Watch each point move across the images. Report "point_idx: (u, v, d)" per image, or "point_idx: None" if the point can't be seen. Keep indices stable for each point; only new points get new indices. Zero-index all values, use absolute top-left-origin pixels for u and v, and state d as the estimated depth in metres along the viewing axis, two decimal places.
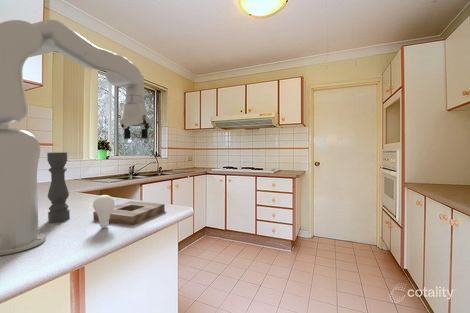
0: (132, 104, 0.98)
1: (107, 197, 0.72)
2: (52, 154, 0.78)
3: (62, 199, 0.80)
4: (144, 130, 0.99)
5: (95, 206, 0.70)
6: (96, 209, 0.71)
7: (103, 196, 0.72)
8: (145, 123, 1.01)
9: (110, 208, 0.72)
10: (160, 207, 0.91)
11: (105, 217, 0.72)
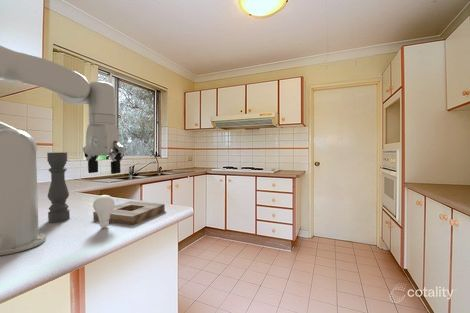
0: (97, 126, 0.70)
1: (107, 197, 0.72)
2: (52, 154, 0.78)
3: (62, 199, 0.80)
4: (115, 162, 0.70)
5: (95, 206, 0.70)
6: (96, 209, 0.71)
7: (103, 196, 0.72)
8: (117, 152, 0.73)
9: (110, 208, 0.72)
10: (160, 207, 0.91)
11: (105, 217, 0.72)
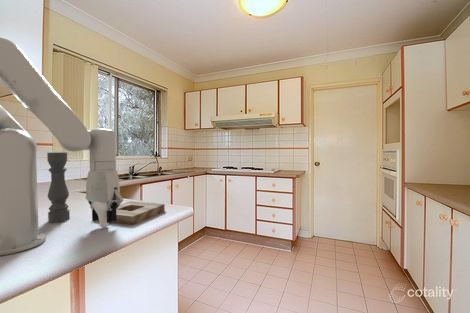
0: (98, 174, 0.70)
1: None
2: (52, 154, 0.78)
3: (62, 199, 0.80)
4: (111, 212, 0.71)
5: (95, 206, 0.70)
6: (96, 209, 0.71)
7: None
8: (115, 199, 0.73)
9: None
10: (160, 207, 0.91)
11: (105, 217, 0.72)
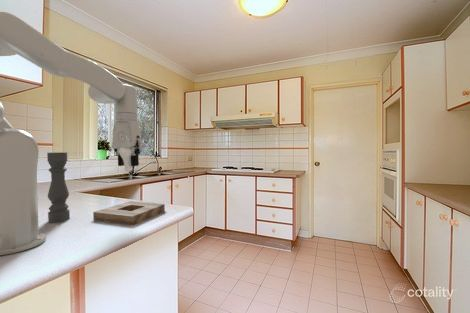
0: (123, 123, 0.82)
1: None
2: (52, 154, 0.78)
3: (62, 199, 0.80)
4: (134, 156, 0.83)
5: (121, 151, 0.82)
6: (122, 154, 0.82)
7: None
8: (137, 147, 0.85)
9: None
10: (160, 207, 0.91)
11: (129, 162, 0.84)
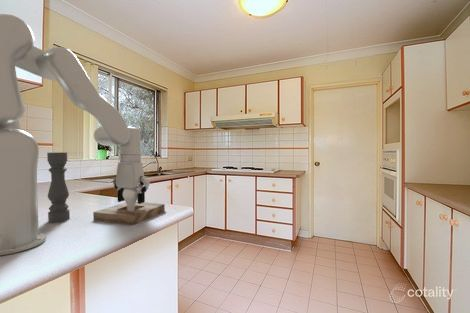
0: (127, 164, 0.84)
1: (134, 188, 0.86)
2: (52, 154, 0.78)
3: (62, 199, 0.80)
4: (141, 194, 0.85)
5: (125, 195, 0.84)
6: (125, 197, 0.85)
7: None
8: (142, 184, 0.87)
9: (136, 197, 0.86)
10: (160, 207, 0.91)
11: (132, 204, 0.86)
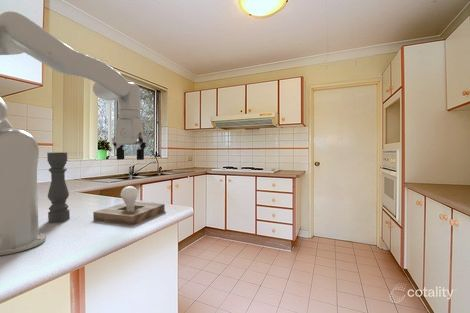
0: (126, 120, 0.83)
1: (132, 188, 0.86)
2: (52, 154, 0.78)
3: (62, 199, 0.80)
4: (140, 150, 0.84)
5: (123, 195, 0.84)
6: (124, 198, 0.84)
7: (128, 187, 0.86)
8: (141, 142, 0.86)
9: (135, 197, 0.86)
10: (160, 207, 0.91)
11: (131, 204, 0.86)
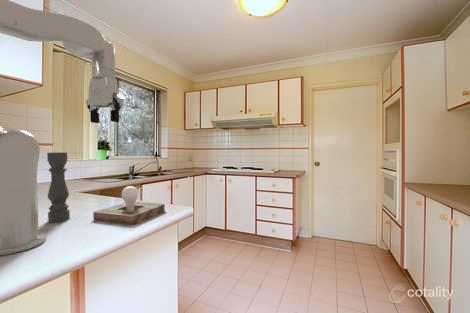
0: (99, 79, 0.79)
1: (132, 188, 0.86)
2: (52, 154, 0.78)
3: (62, 199, 0.80)
4: (114, 111, 0.80)
5: (123, 195, 0.84)
6: (124, 198, 0.84)
7: (129, 187, 0.86)
8: (116, 103, 0.82)
9: (135, 197, 0.86)
10: (160, 207, 0.91)
11: (131, 204, 0.86)
